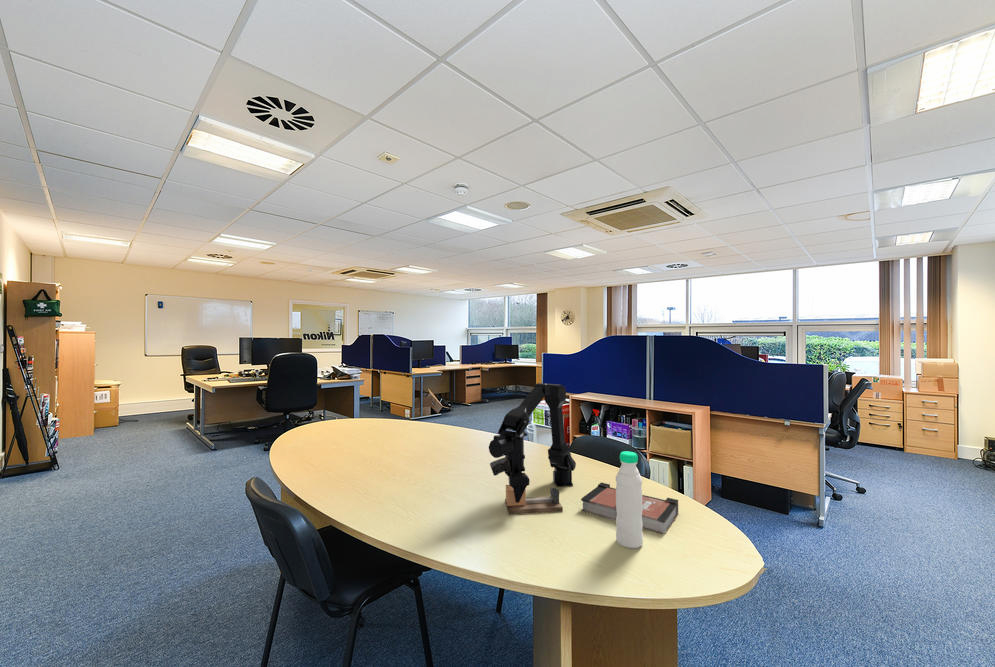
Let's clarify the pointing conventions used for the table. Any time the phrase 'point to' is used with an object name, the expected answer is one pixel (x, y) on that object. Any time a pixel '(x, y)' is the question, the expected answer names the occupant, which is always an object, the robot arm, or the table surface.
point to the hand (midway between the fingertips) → (515, 497)
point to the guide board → (534, 507)
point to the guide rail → (553, 498)
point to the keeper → (511, 498)
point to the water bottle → (629, 502)
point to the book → (653, 509)
